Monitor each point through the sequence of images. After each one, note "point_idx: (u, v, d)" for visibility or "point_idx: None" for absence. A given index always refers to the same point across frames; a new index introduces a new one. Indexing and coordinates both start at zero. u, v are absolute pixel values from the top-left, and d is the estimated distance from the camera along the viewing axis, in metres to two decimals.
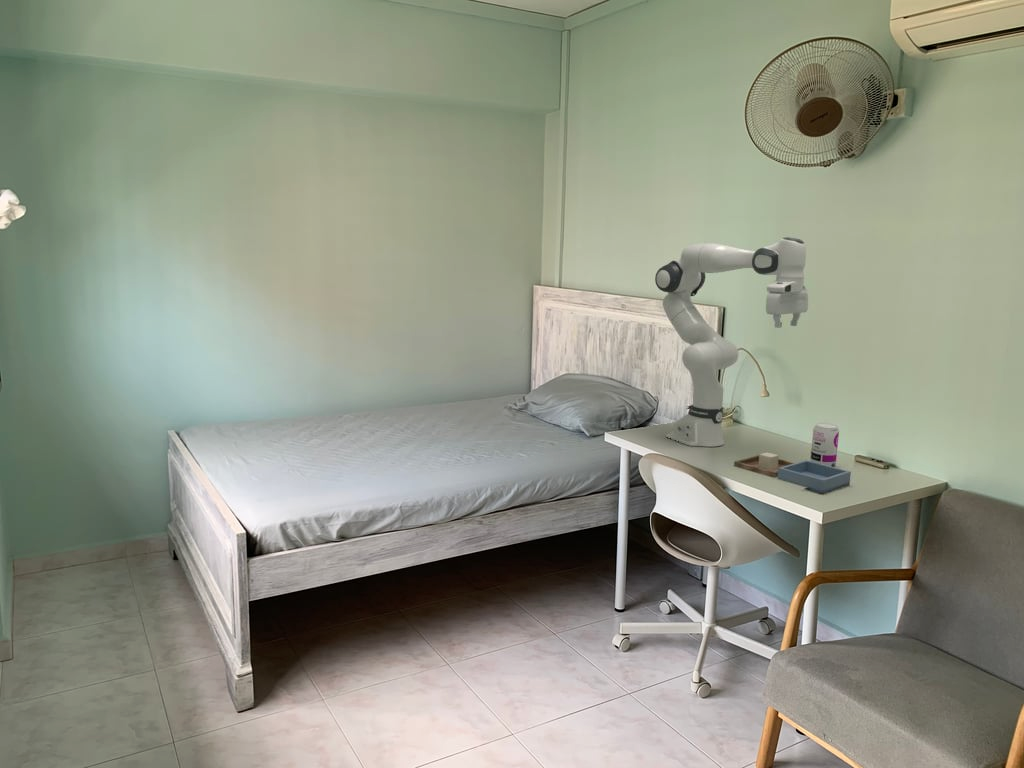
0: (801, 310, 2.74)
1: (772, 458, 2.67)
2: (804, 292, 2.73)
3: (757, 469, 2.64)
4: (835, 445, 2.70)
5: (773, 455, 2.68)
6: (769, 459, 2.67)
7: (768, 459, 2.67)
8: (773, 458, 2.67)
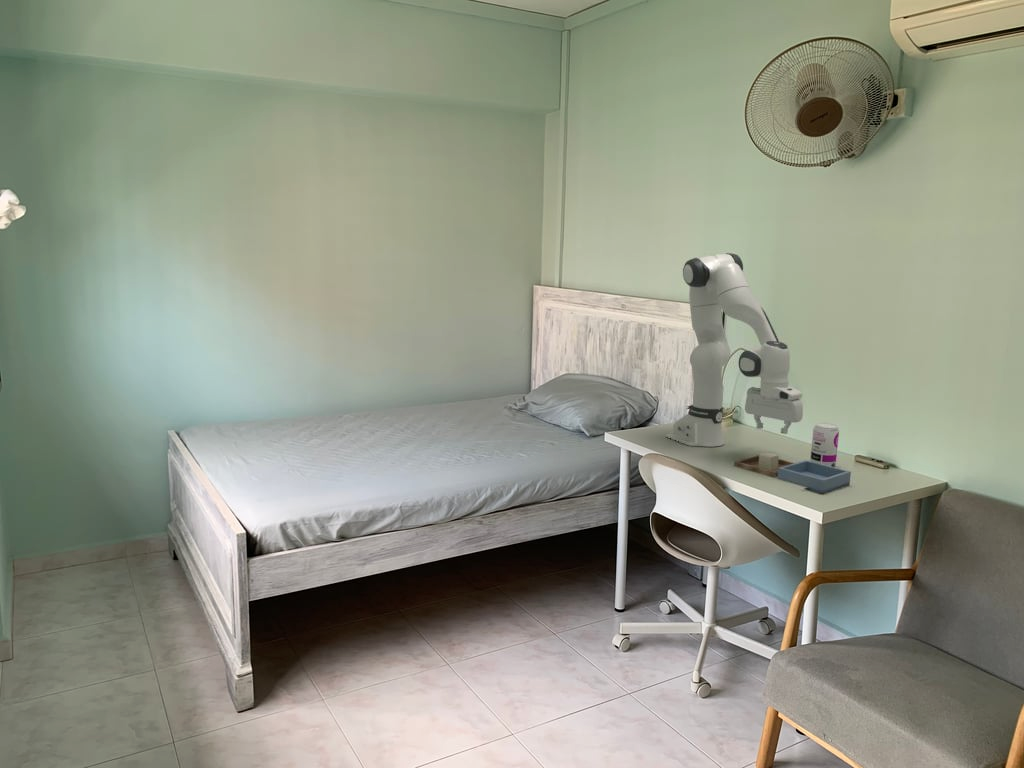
0: None
1: (772, 458, 2.67)
2: None
3: (757, 469, 2.64)
4: (835, 445, 2.70)
5: (773, 455, 2.68)
6: (769, 459, 2.67)
7: (768, 459, 2.67)
8: (773, 458, 2.67)
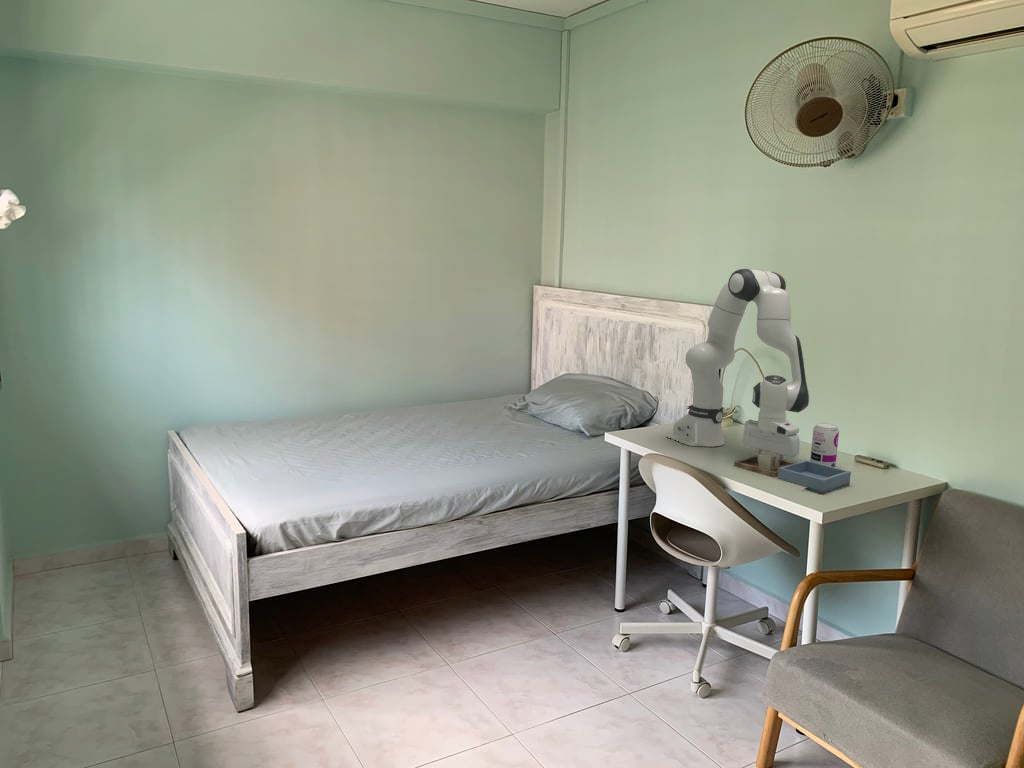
0: None
1: (772, 458, 2.67)
2: None
3: (757, 469, 2.64)
4: (835, 445, 2.70)
5: (773, 455, 2.68)
6: (769, 459, 2.67)
7: (768, 459, 2.67)
8: (773, 458, 2.67)
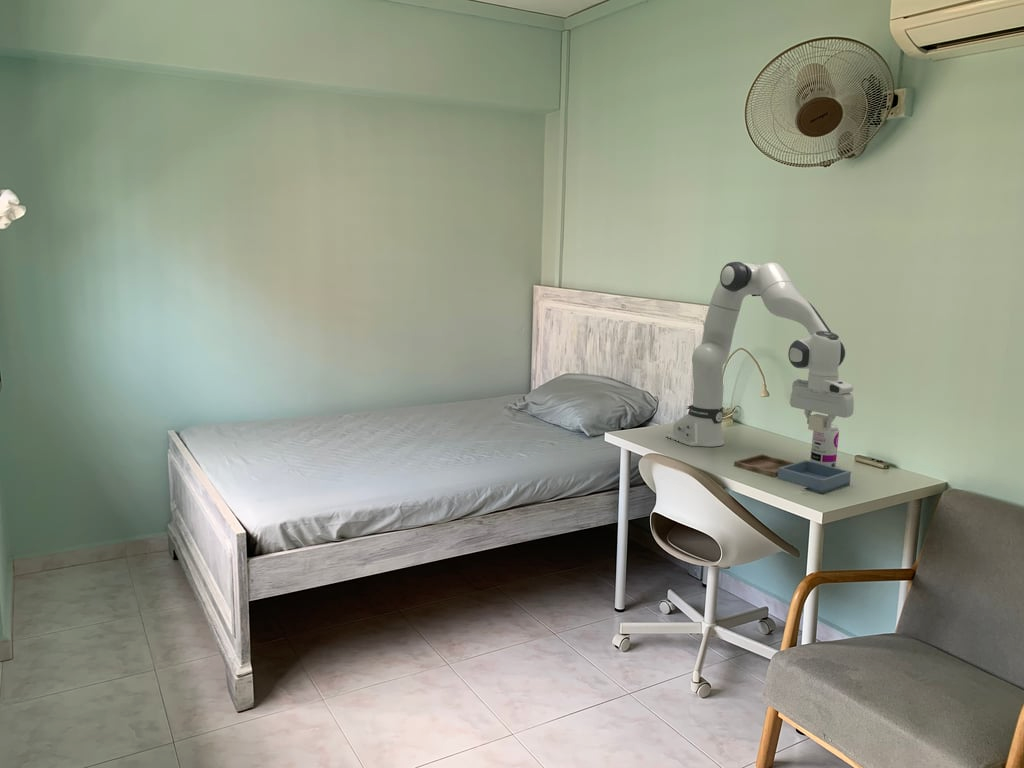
0: None
1: (823, 419, 2.51)
2: None
3: (757, 469, 2.64)
4: (835, 445, 2.70)
5: (824, 416, 2.52)
6: (820, 421, 2.50)
7: (819, 421, 2.51)
8: (824, 419, 2.51)
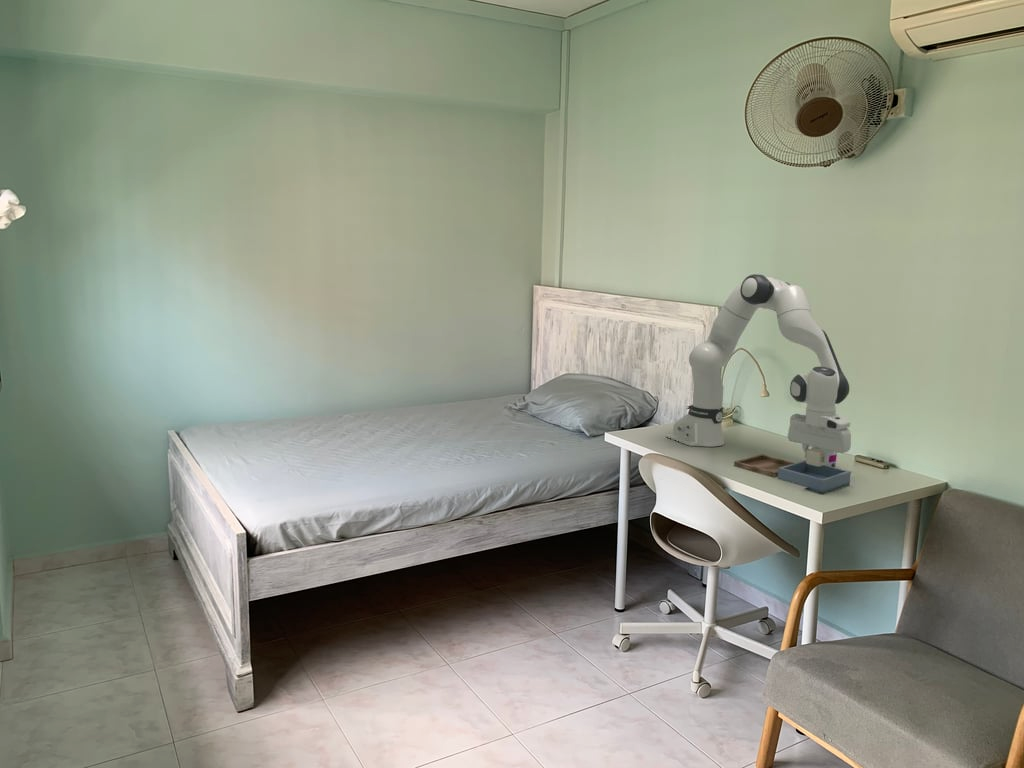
0: None
1: (821, 454, 2.53)
2: None
3: (757, 469, 2.64)
4: None
5: (822, 451, 2.54)
6: (818, 455, 2.53)
7: (816, 455, 2.53)
8: (822, 454, 2.53)
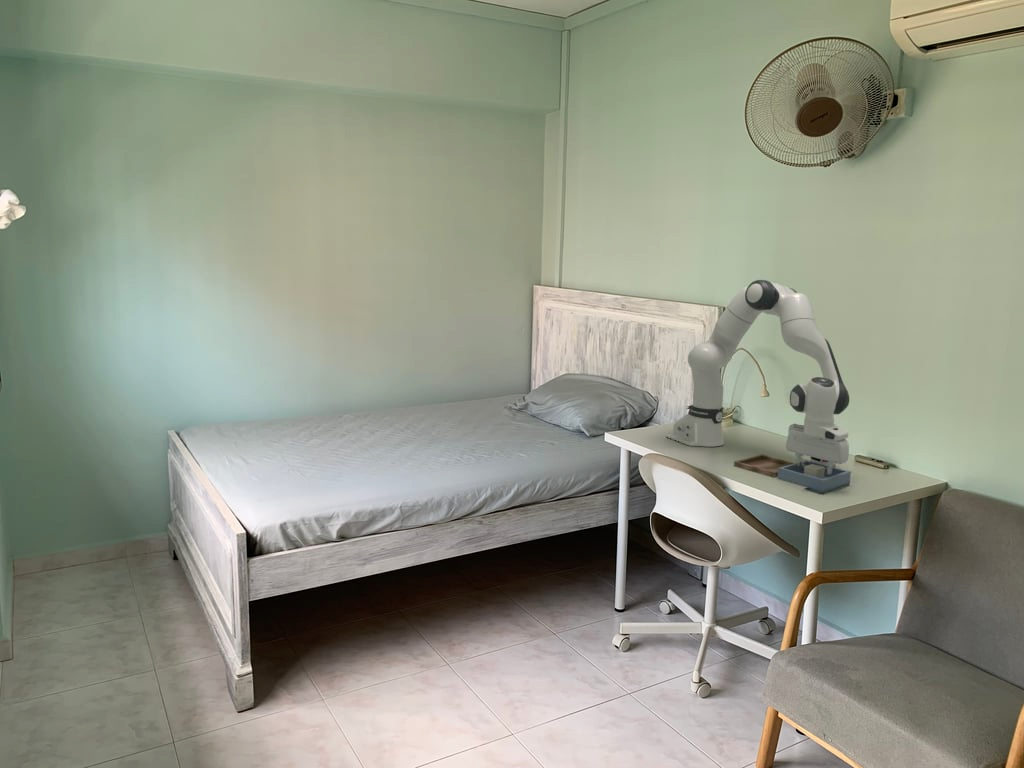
0: None
1: (818, 470, 2.54)
2: None
3: (757, 469, 2.64)
4: None
5: (819, 467, 2.55)
6: (815, 472, 2.54)
7: (813, 472, 2.54)
8: (819, 470, 2.54)
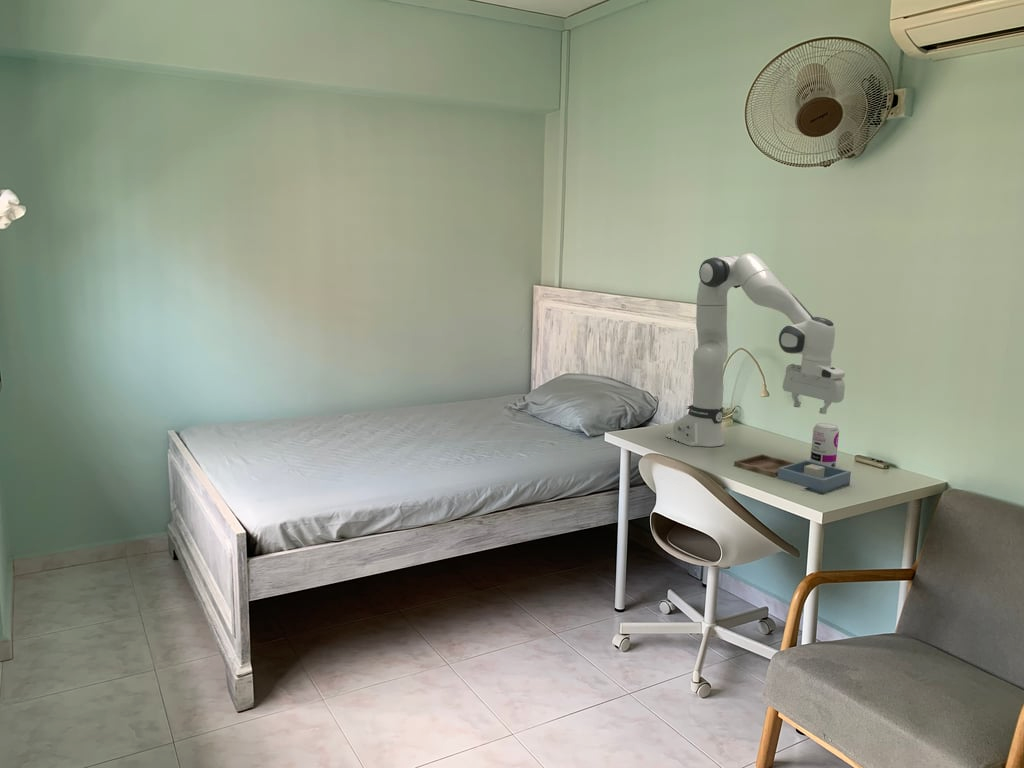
0: None
1: (818, 470, 2.54)
2: None
3: (757, 469, 2.64)
4: (835, 445, 2.70)
5: (819, 467, 2.55)
6: (815, 472, 2.54)
7: (813, 472, 2.54)
8: (819, 470, 2.54)
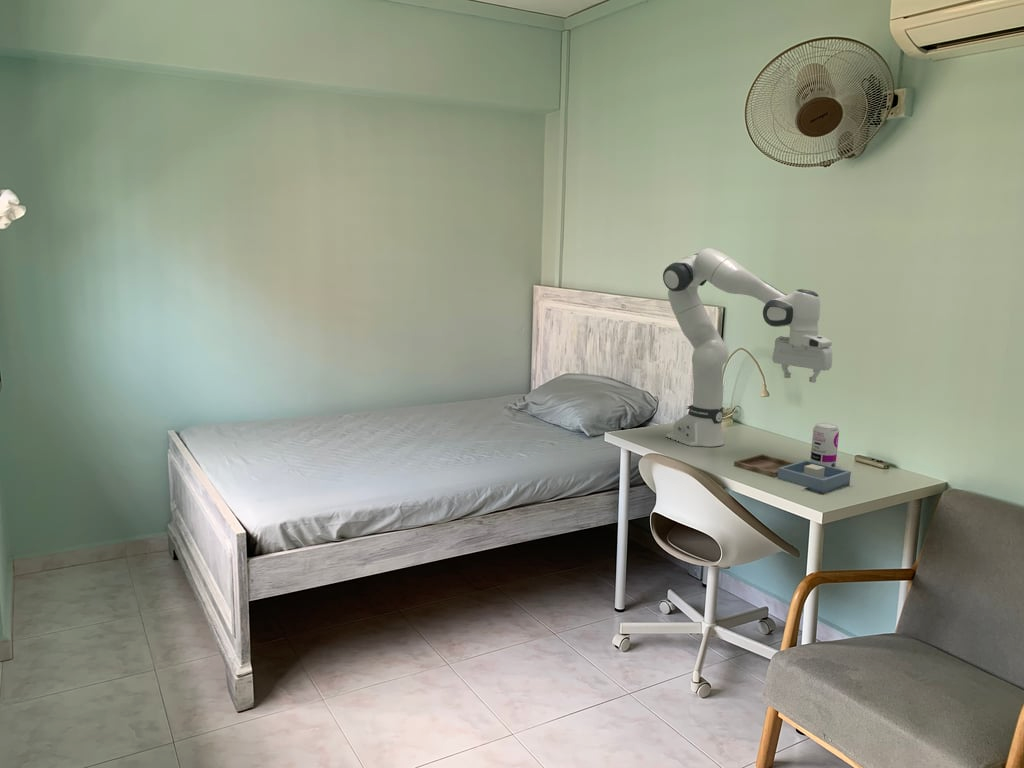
0: None
1: (818, 470, 2.54)
2: None
3: (757, 469, 2.64)
4: (835, 445, 2.70)
5: (819, 467, 2.55)
6: (815, 472, 2.54)
7: (813, 472, 2.54)
8: (819, 470, 2.54)
